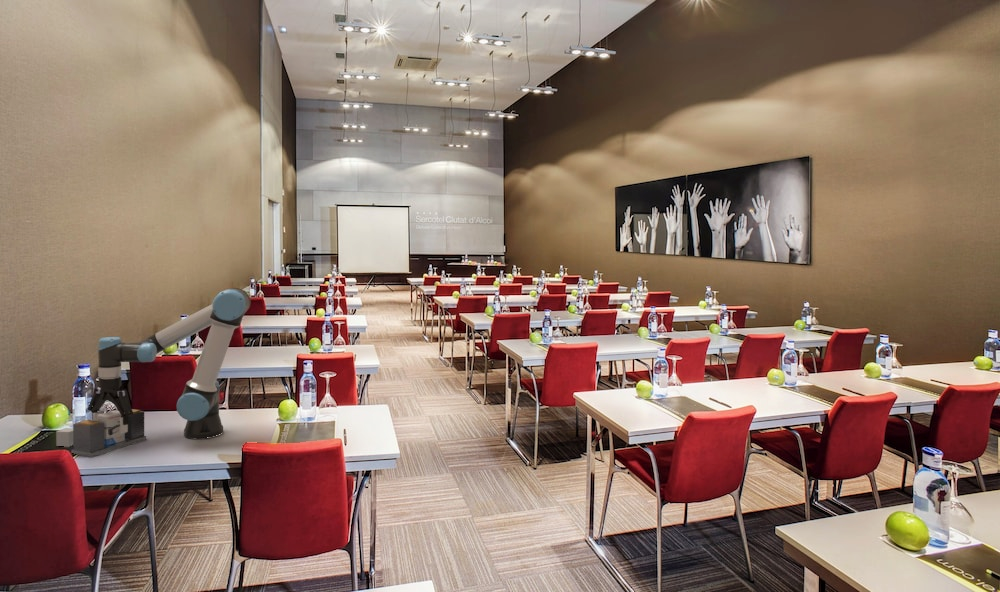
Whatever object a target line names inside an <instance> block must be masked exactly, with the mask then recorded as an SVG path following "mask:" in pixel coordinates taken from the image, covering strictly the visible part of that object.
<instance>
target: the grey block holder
mask: <svg viewBox="0 0 1000 592" xmlns="http://www.w3.org/2000/svg"><path fill="white" fill-rule="evenodd" d="M132 411H133V414H132V415H129V420H128V422H129V423H128V432H126V433H125V440H124V441H121V442H118V443H115V444H112V445H109V446H104V422H100V421H94V420H92V419H84V420H81V421H78V422H76V423H73V425H72V428H73V446H72V447H73V449H71V454H72V453H74V454H73V455H75V454H77V455H76V456H81V457H88V458H94V457H97V456H100V455H103V454H106V453H109V452H112V451H115V450H118V449H121V448H125V447H127V446H131V445H133V444H137V443H139V442H142V441H145V440H147V435H145V411H144V410H141V409H135V408H134V409H133V408H132Z"/></svg>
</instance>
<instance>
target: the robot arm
mask: <svg viewBox="0 0 1000 592" xmlns="http://www.w3.org/2000/svg"><path fill="white" fill-rule="evenodd" d="M251 302H252V301H251V297H250V295H249V293H247V292H246V291H245V290H244V289H242V288H239V287H232V288H229V289H224V290H222V291H220V292H219V293H218V294H217V295H216V296H215V297H214V299H213V301H212V303H211V304H210V305H208V306H206V307H204V308H202V309H200V310H198V311H196V312H194V313H192V314H191V315H188V316H186V317H184V318H183V319H181V320H179V321H176V322H174V323H173V324H171V325H169V326H167V327H165V328H164V329H161V330H159V331H157V332H156V333H154V334H152V335H149V336H148V337H146V338H144V339H141V340H140V341H138V342H122V337H118V336H107V337H106V336H105V337H101V338H100V339H99V340H98V345H97V346H98V349H97V355H98V356H97V357H98V358H97V359H98V367H97V368H98V369H97V370H98V373H97V374H98V375H97V377H98V387H94V388H93V394H92V397H91V399H90V401H89V404H88V407H87V411H89V412H91V414H92V415H91V420H94V421H97V415H99V414H102V412H101V408H102V407H103V406H104V405H105V403H106V402H107V401H108V402H111V403H112V404H114V405H115V408H116V409H117V411H119V412H120V414H121V417H120V434H123V433H126V432H128V423H129V422H128V420H129V415H132V414H133V411H132V409H133V408H132V406H131V404H130V401H129V399H128V395H127V390H126V389H125V390H120V388H121V386H122V377H121V376H122V363H152V362H154V361H155V359H156V358H157V355H158V354H159V353H161V352H162V351H165V350H166V349H168V348H171V347H172V346H174V345H175V344H178V343H180V342H182V341H184V340H185V339H188V338H189V337H191V336H193V335H195V334H197V333H199V332H201V331H203V330H205V329H206V328H208V327H210V328H209V331H208V334H207V336H206V340H205V343H204V344H203V348H202V351H201V353H200V356H199V359H198V362H197V364H196V368H195V370H194V373H193V376H192V378H191V379H190V380H188V381H186V383H185V387H184V389H183V392H182V394H181V396H179V398H178V400H177V402H176V411H177V413H178V415H179V416H180V417H181V418H182V419H184V420H187V421H186V424H185V428H184V430H183V436H184V438H187V439H191V438H192V439H193V440H200V439H199V438H205V439H208V438H207V437H212V438H214V437H213V436H216V435H219V434H221V433H222V432H223V433H224V426H223V424H222V420H221V417H220V387H221V386H220V382H219V381H218V376H219V373H220V371H221V368H222V365H223V362H224V359H225V357H226V355H227V351H228V349H229V346H230V343H231V340H232V337H233V335H234V331H235V329H238V328H239V327H240V326H241V324H242V321H243V319H244V315H245V314H246V313H247V311H248V310H249V309H250V307H251ZM124 413H125V414H124ZM221 435H222V434H221ZM219 436H220V435H219ZM216 437H217V436H216Z"/></svg>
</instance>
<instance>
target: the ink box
mask: <svg viewBox="0 0 1000 592" xmlns="http://www.w3.org/2000/svg"><path fill="white" fill-rule="evenodd" d="M124 414H125V413H124ZM120 417H121V414H120V412H119V411H118V409H117V410H112V411H111V410H110V411H107V412H101V414H99V415H97V421H100V422H104V446H109V445H112V444H115V443H118V442H121V441H124V440H125V433H123V434H120Z"/></svg>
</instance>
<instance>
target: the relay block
mask: <svg viewBox="0 0 1000 592" xmlns="http://www.w3.org/2000/svg"><path fill="white" fill-rule="evenodd" d="M55 432H56V435H55V436H56V437H55V438H56V439H55V440H56V441H55V442H56V446H64V447H63V448H71V447H73V446H72V445H73V427H65V428H62V429H60V430H56V431H55ZM56 446H55V447H56ZM70 446H71V447H70Z"/></svg>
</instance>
